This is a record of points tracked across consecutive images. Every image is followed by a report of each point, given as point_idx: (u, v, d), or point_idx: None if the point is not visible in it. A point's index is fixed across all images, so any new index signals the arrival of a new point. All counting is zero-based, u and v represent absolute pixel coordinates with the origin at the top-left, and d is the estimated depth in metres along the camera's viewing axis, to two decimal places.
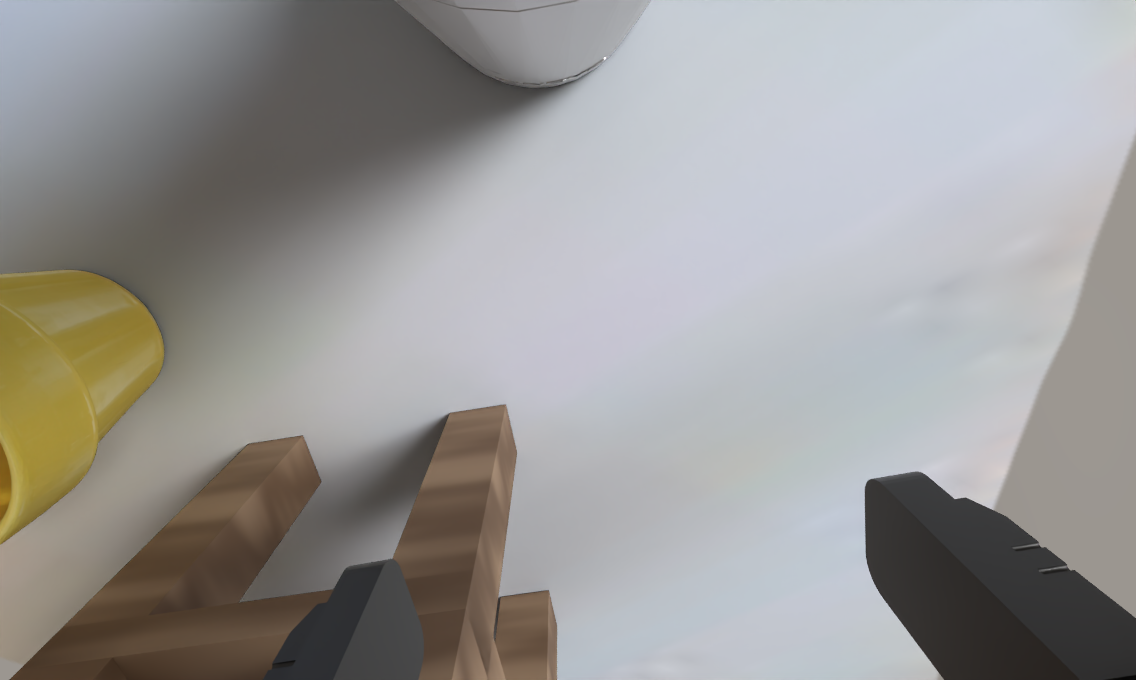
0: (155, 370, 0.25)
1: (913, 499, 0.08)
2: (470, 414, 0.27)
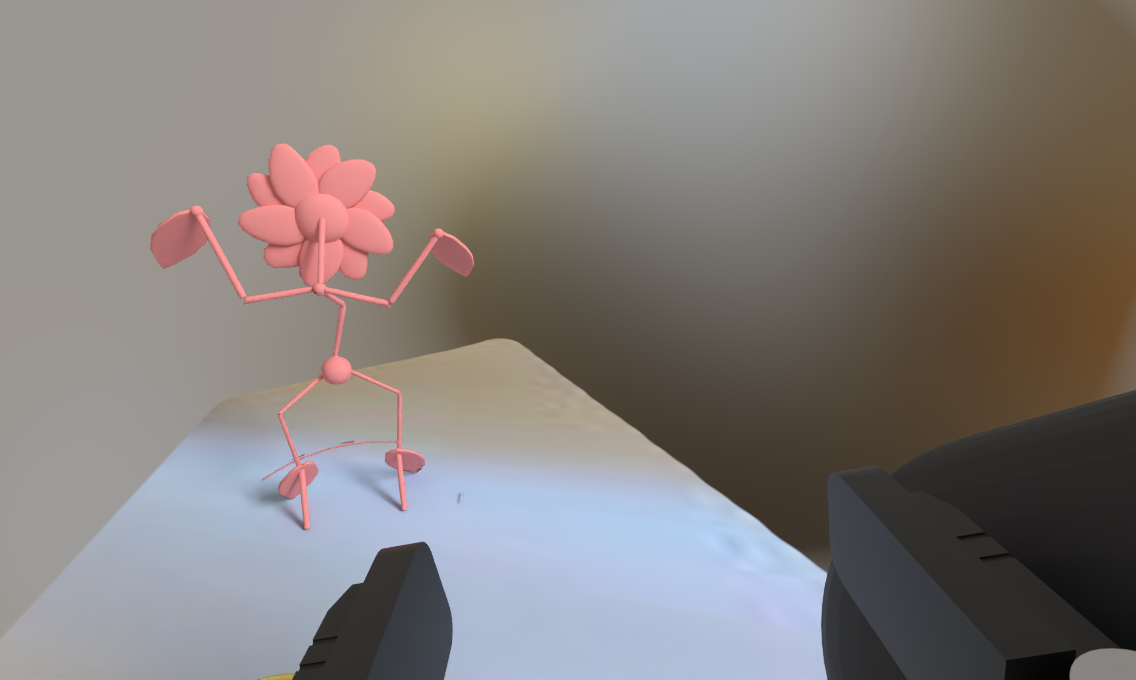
0: None
1: (869, 491, 0.08)
2: None
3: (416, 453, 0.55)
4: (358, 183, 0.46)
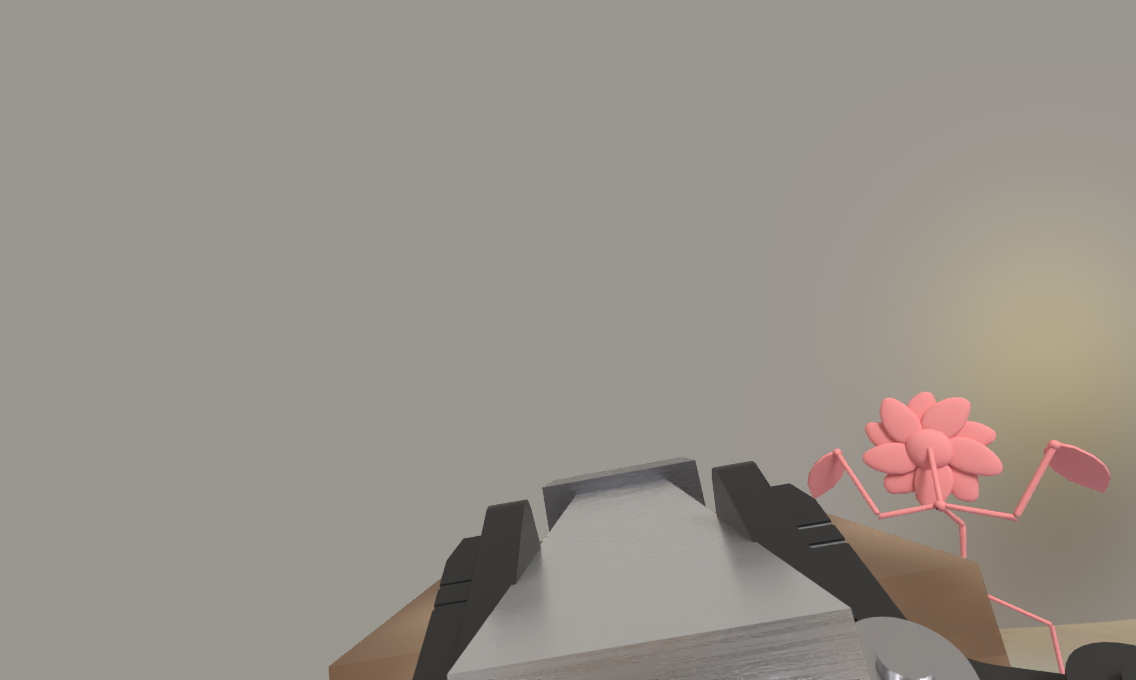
0: None
1: (736, 484, 0.09)
2: None
3: None
4: (956, 416, 0.56)
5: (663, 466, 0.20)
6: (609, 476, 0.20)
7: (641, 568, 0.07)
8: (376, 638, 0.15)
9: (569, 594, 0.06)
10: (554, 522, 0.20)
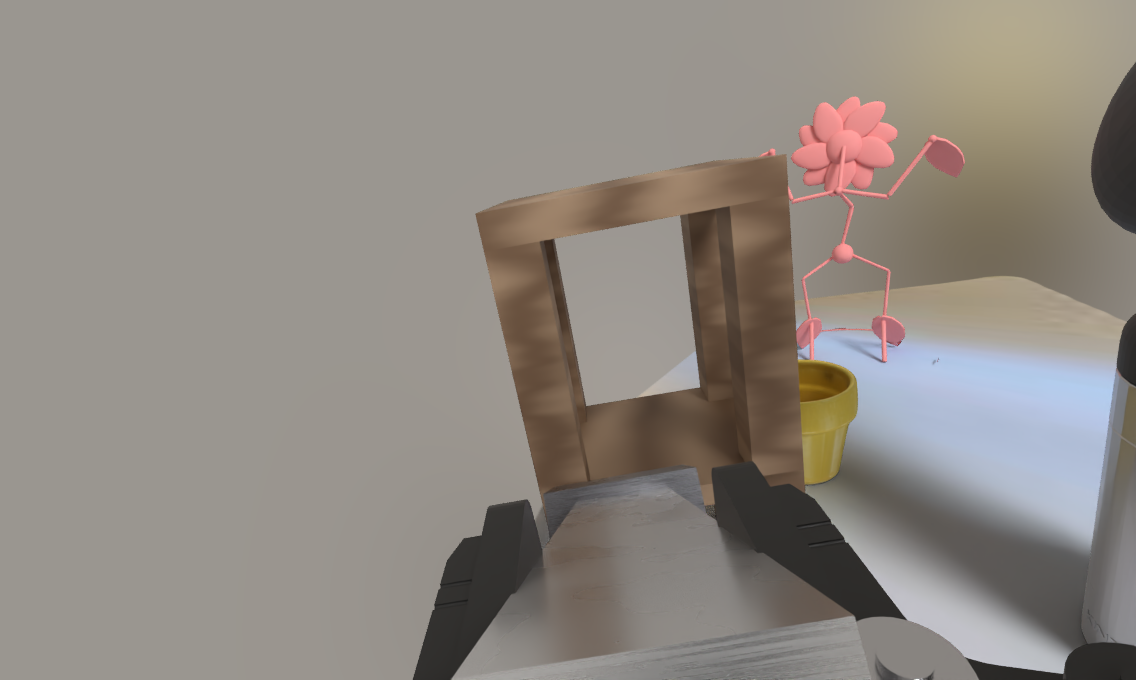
0: None
1: (735, 484, 0.09)
2: None
3: (898, 322, 0.72)
4: (871, 118, 0.68)
5: (664, 473, 0.20)
6: (610, 483, 0.20)
7: (644, 574, 0.07)
8: None
9: (572, 600, 0.06)
10: (555, 528, 0.20)
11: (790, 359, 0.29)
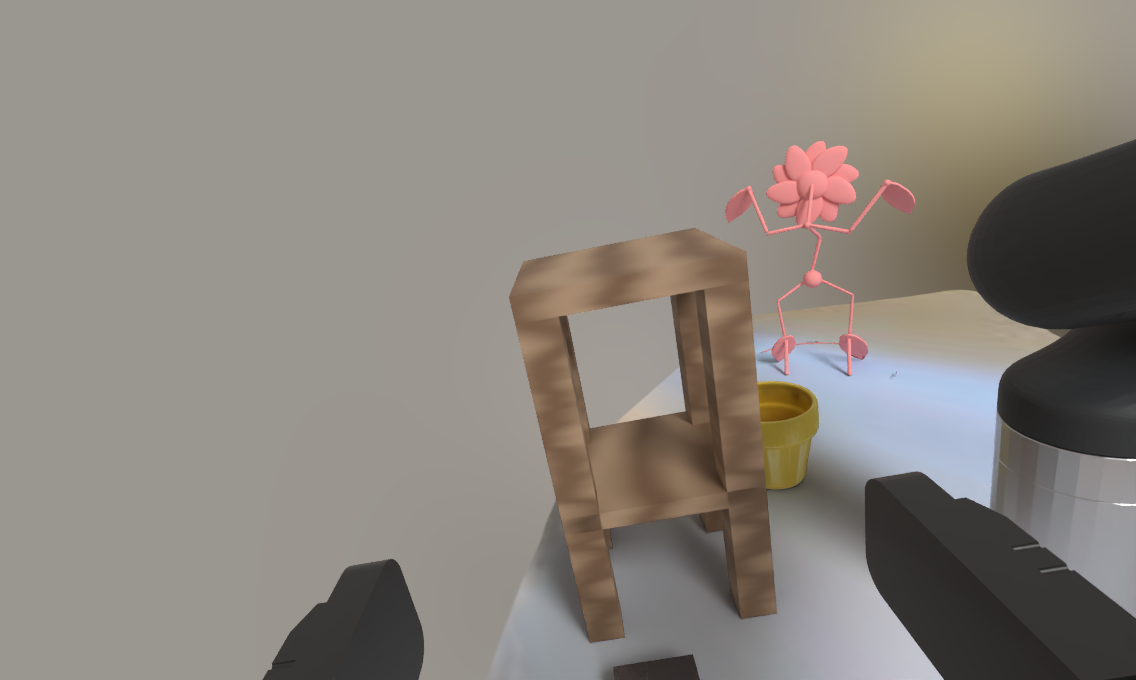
0: (766, 483, 0.59)
1: (913, 499, 0.08)
2: None
3: (861, 340, 0.81)
4: (836, 160, 0.76)
5: None
6: None
7: None
8: (517, 289, 0.37)
9: None
10: None
11: (753, 401, 0.38)
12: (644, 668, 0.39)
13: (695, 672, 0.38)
